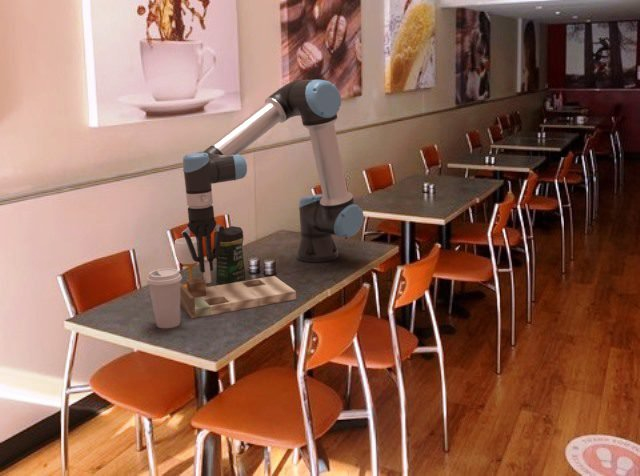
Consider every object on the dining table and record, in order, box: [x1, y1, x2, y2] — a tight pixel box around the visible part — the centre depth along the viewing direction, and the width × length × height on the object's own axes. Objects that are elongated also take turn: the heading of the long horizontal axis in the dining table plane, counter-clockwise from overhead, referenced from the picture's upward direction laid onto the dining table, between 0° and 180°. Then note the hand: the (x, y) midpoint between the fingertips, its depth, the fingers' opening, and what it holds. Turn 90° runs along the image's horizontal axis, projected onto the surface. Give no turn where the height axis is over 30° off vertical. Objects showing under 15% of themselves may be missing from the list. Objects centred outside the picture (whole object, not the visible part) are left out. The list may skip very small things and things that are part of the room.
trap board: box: [180, 275, 297, 319], centre depth 206 cm, size 32×18×6 cm, turn 115°
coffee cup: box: [146, 267, 183, 329], centre depth 187 cm, size 10×10×15 cm
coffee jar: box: [213, 225, 247, 285], centre depth 221 cm, size 10×8×19 cm
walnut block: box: [186, 277, 207, 298], centre depth 204 cm, size 4×4×4 cm
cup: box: [174, 236, 207, 289], centre depth 217 cm, size 9×9×16 cm
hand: (207, 281), depth 207 cm, fingers closed
